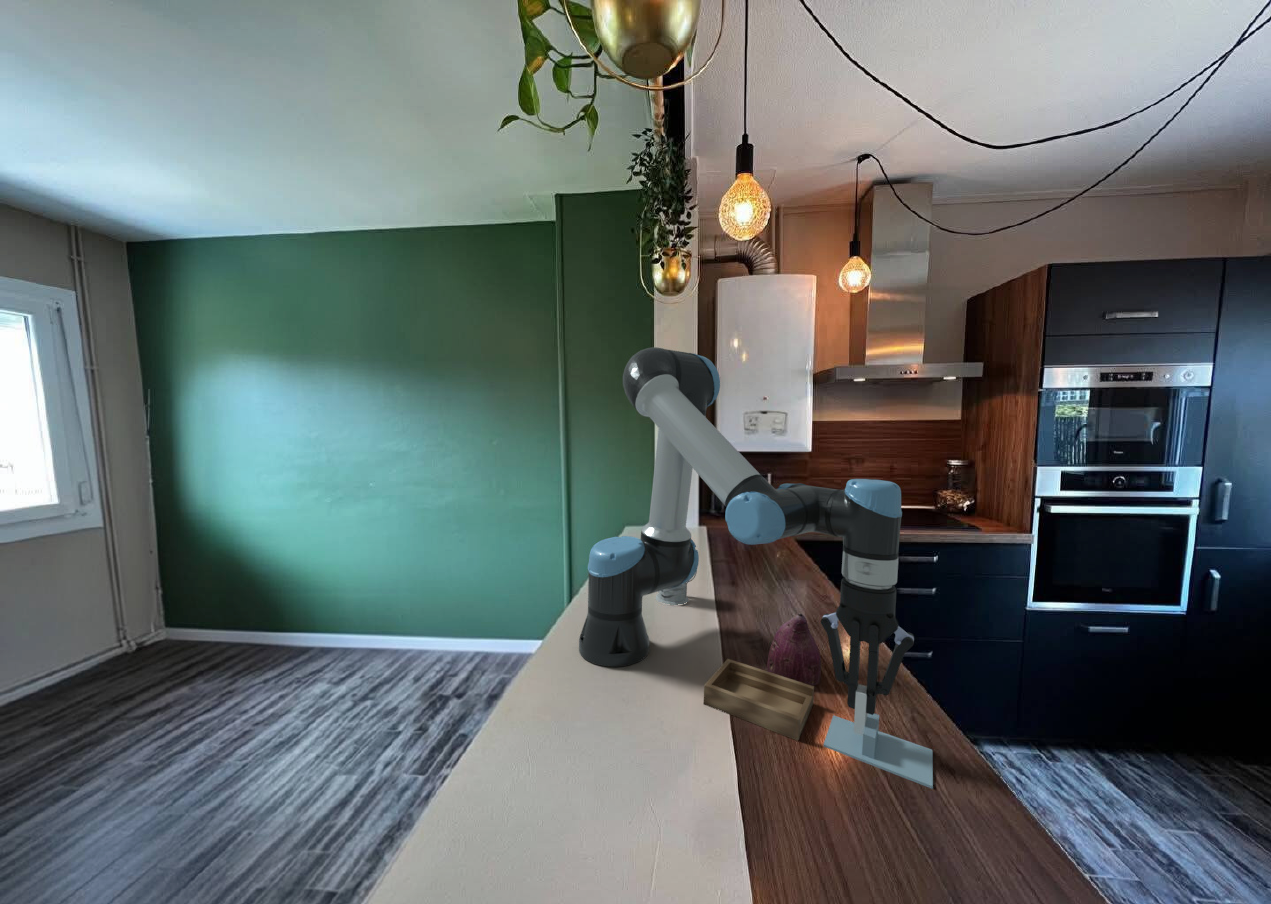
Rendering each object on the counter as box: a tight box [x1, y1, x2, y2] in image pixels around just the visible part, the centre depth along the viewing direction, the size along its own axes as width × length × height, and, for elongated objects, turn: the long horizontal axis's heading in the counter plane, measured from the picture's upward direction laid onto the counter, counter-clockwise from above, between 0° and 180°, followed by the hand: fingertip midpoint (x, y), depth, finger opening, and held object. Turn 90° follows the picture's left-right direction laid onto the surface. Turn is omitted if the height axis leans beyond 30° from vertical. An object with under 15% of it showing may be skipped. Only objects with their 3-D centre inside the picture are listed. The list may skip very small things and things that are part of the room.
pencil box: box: [703, 658, 815, 742], centre depth 79 cm, size 16×11×3 cm
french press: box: [655, 570, 698, 605], centre depth 125 cm, size 10×12×25 cm
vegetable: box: [766, 612, 822, 687], centre depth 87 cm, size 10×10×15 cm
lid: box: [822, 713, 934, 790], centre depth 68 cm, size 14×8×4 cm, turn 57°
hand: (860, 729), depth 70 cm, fingers closed
